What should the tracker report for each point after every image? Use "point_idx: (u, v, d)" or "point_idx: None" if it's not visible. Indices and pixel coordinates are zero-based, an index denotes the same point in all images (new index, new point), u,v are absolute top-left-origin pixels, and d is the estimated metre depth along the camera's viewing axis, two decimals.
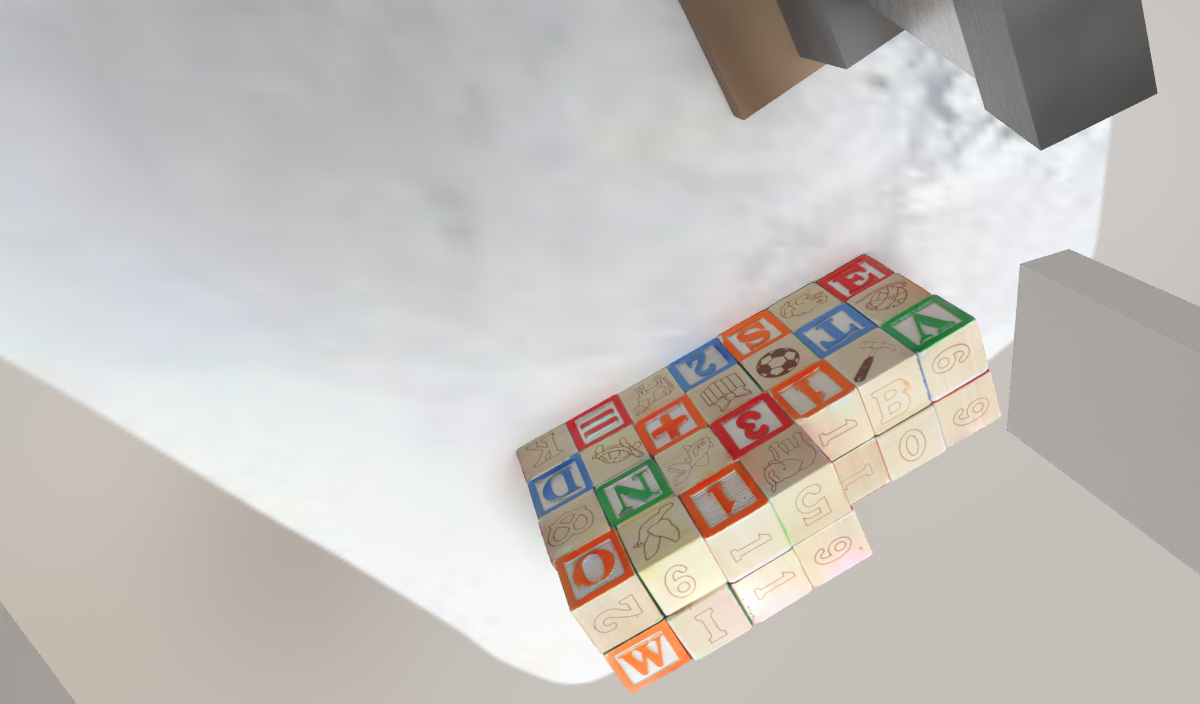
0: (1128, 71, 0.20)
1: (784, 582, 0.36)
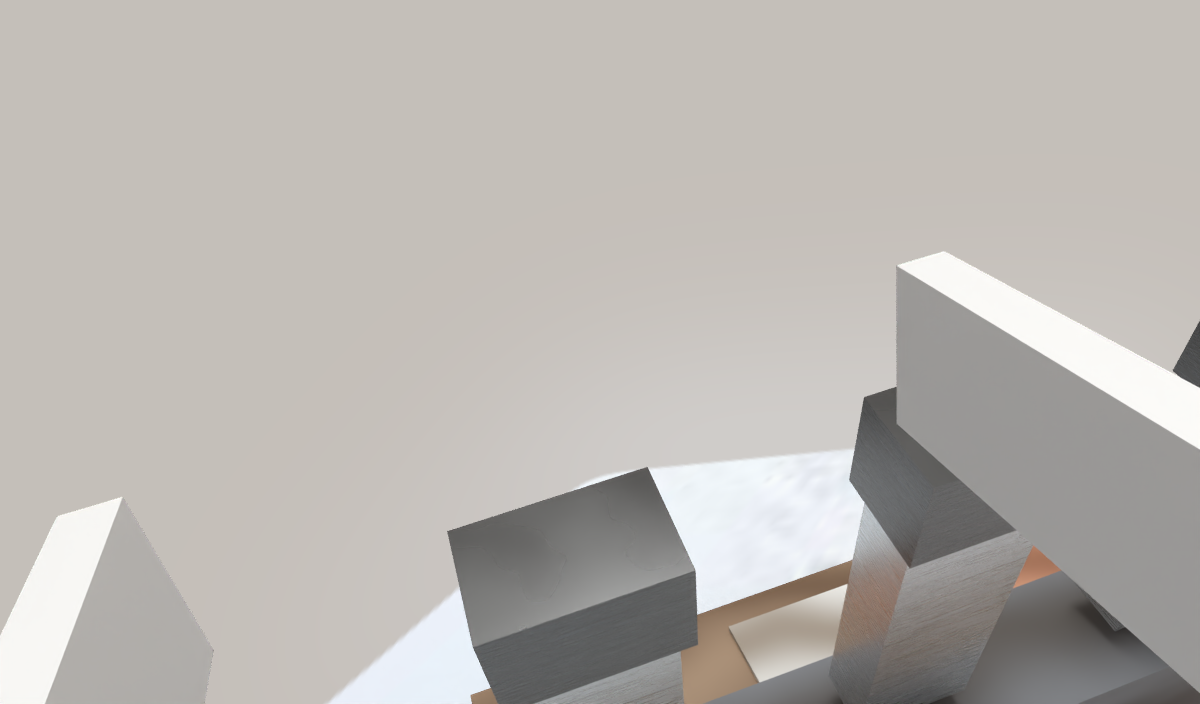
0: None
1: None
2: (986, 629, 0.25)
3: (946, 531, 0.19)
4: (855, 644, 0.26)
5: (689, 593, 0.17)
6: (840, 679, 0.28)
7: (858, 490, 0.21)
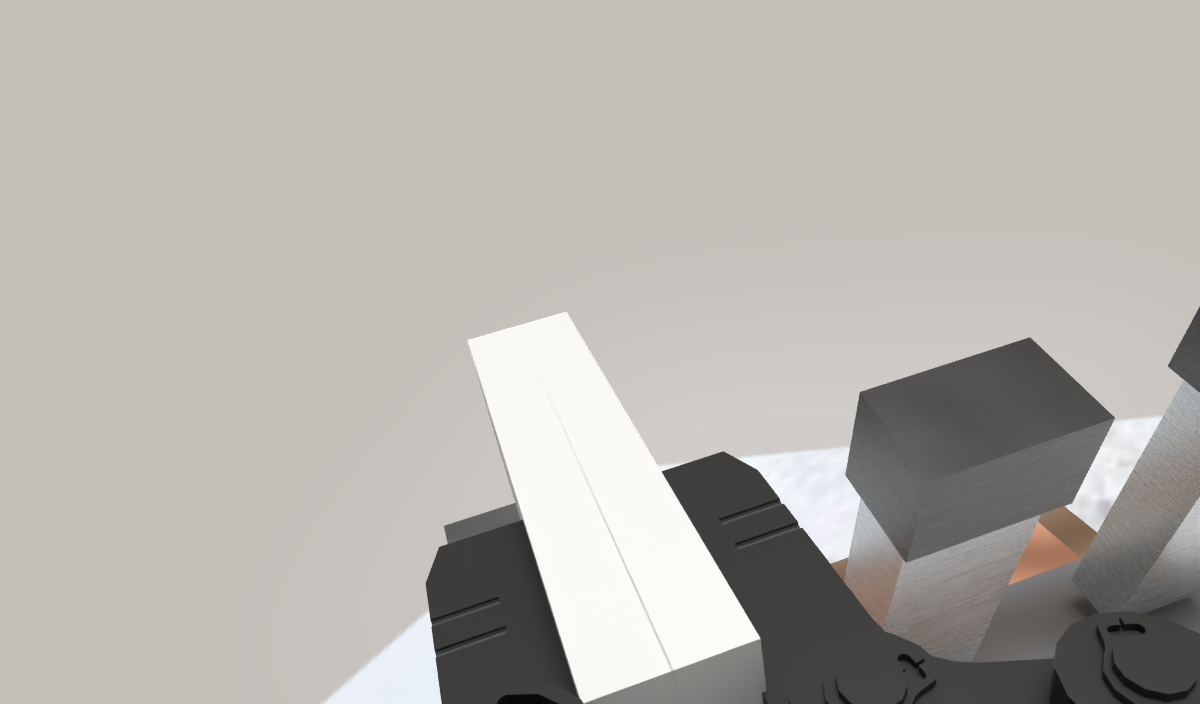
0: None
1: None
2: (982, 624, 0.25)
3: (942, 525, 0.19)
4: None
5: None
6: None
7: (854, 485, 0.21)
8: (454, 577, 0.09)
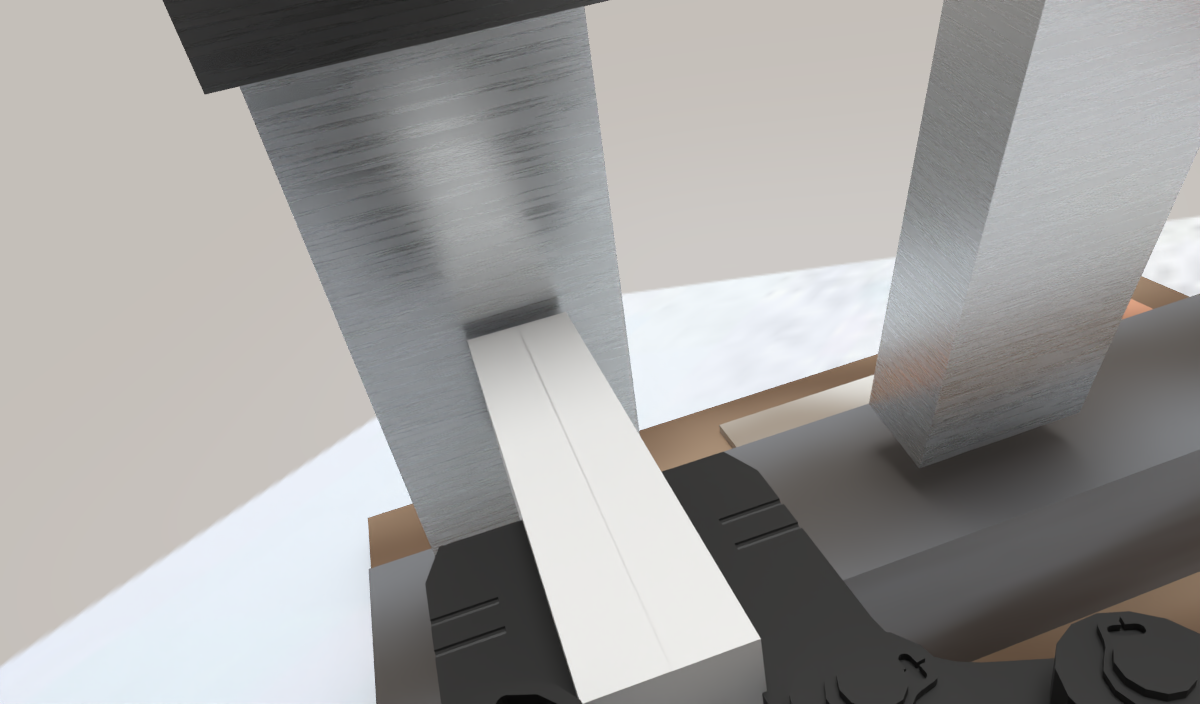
0: None
1: None
2: (1139, 255, 0.15)
3: None
4: (921, 293, 0.16)
5: None
6: (889, 392, 0.18)
7: None
8: (453, 577, 0.09)
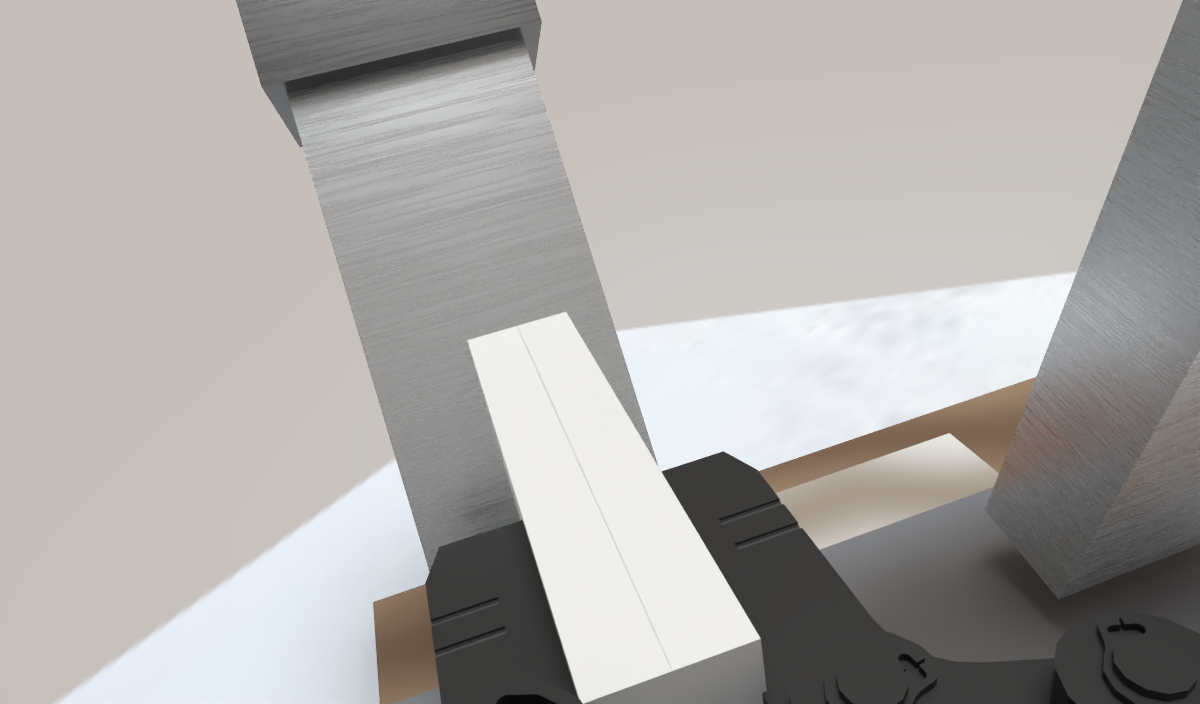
0: None
1: None
2: None
3: None
4: (1085, 399, 0.12)
5: None
6: (1020, 503, 0.15)
7: None
8: (453, 576, 0.09)
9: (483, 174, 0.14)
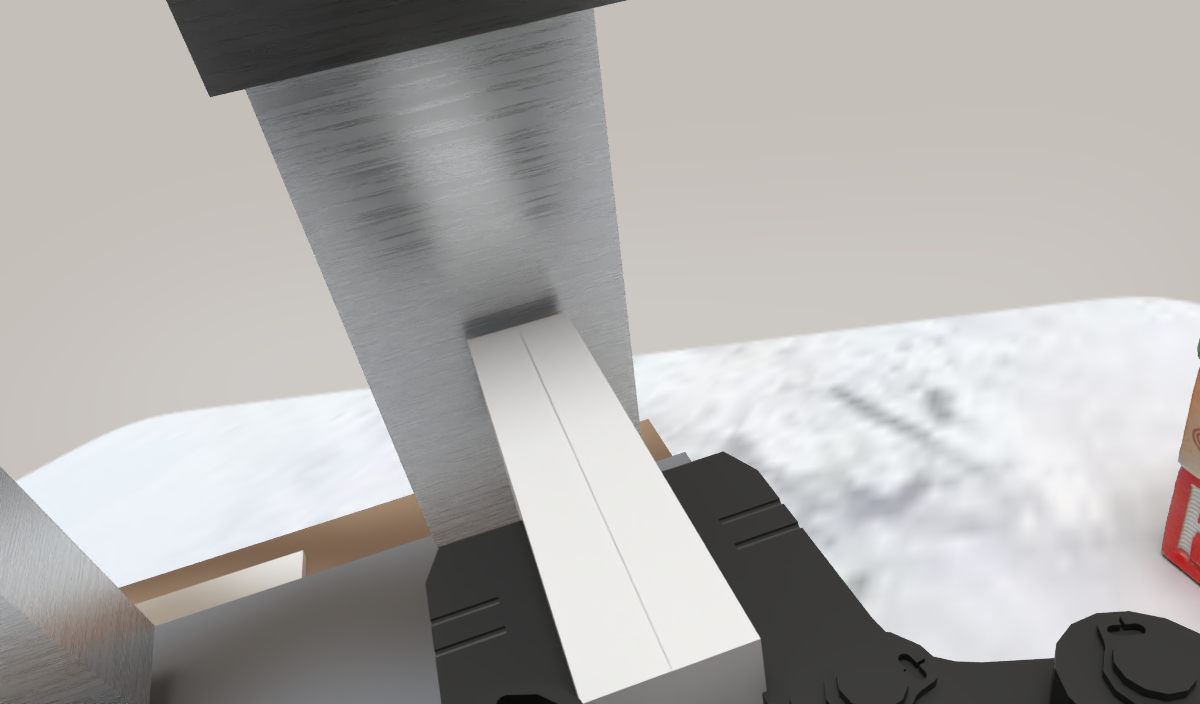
0: None
1: None
2: None
3: None
4: None
5: None
6: None
7: None
8: (453, 577, 0.09)
9: None
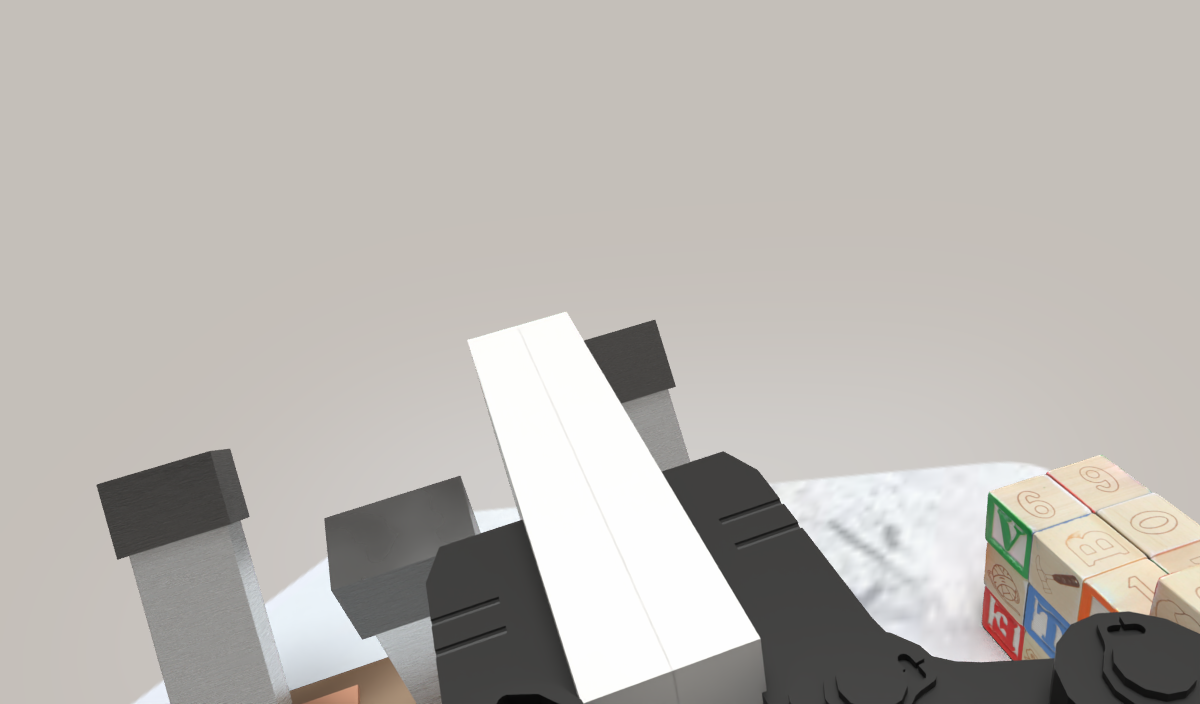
0: None
1: None
2: None
3: (374, 614, 0.27)
4: None
5: (211, 470, 0.35)
6: None
7: None
8: (454, 576, 0.09)
9: (208, 584, 0.35)
